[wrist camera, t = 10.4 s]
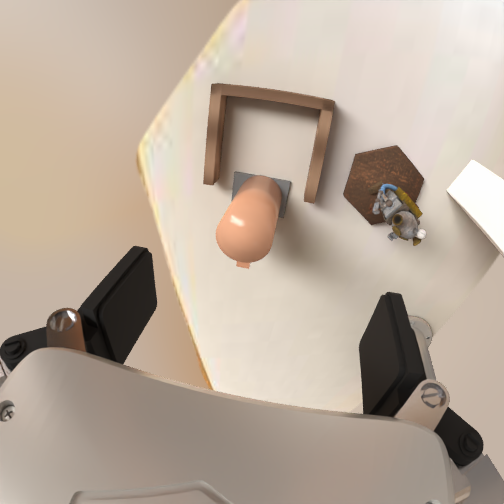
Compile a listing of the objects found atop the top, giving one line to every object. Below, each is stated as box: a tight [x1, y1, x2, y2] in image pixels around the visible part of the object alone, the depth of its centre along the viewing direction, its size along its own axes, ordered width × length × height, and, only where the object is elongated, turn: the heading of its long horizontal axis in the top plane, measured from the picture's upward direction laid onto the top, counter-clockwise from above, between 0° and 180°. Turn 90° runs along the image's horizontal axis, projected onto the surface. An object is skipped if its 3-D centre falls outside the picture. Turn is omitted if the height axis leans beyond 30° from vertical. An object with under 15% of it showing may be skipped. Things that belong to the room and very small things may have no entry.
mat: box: [232, 172, 290, 218], centre depth 39 cm, size 5×7×1 cm
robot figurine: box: [343, 145, 427, 246], centre depth 30 cm, size 11×9×12 cm
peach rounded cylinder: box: [216, 175, 282, 269], centre depth 35 cm, size 6×8×11 cm
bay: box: [203, 83, 335, 203], centre depth 34 cm, size 12×13×3 cm
